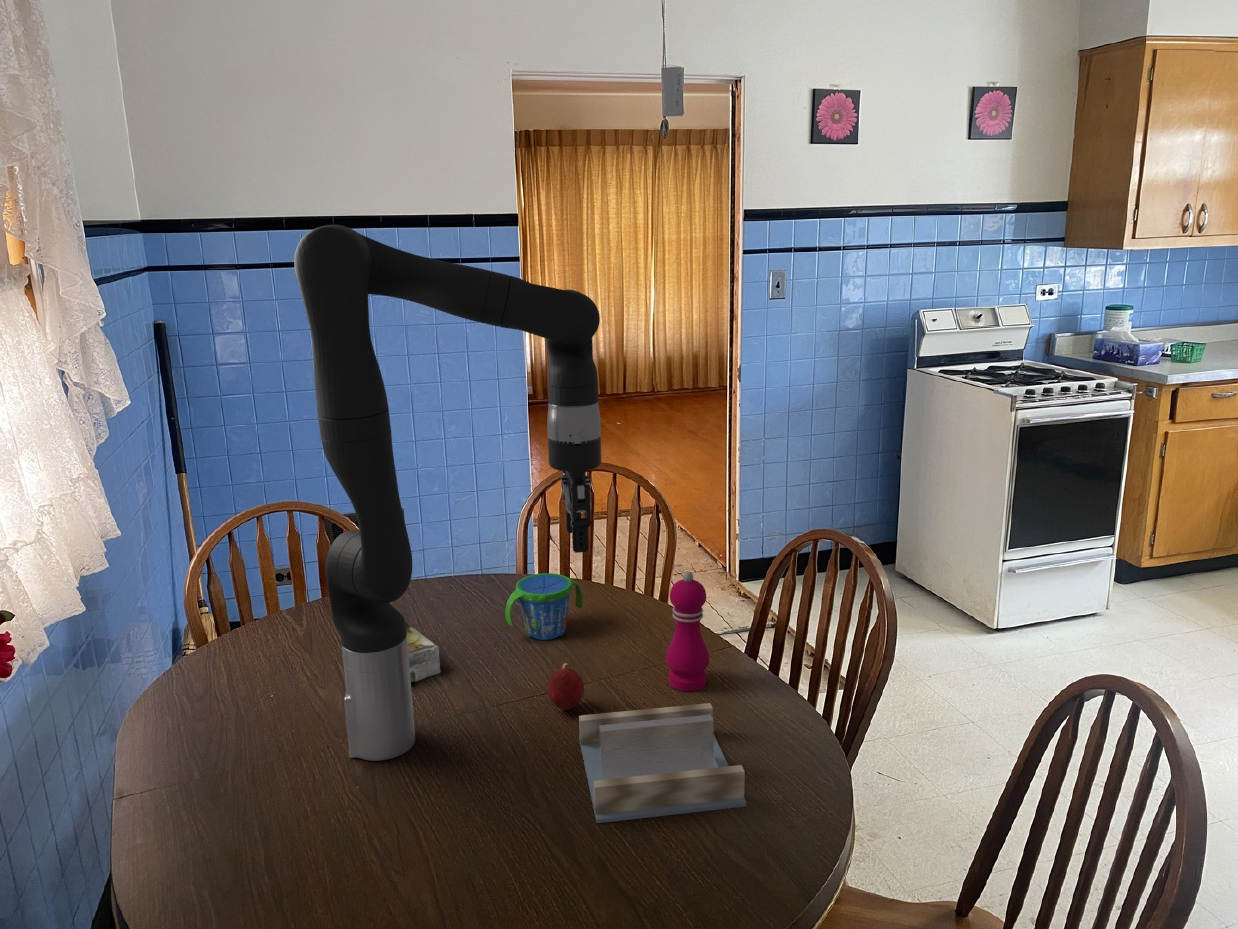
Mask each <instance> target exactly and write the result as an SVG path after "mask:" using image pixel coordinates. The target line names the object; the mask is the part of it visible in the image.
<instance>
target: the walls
mask: <svg viewBox="0 0 1238 929" xmlns="http://www.w3.org/2000/svg"><path fill="white" fill-rule="evenodd" d="M713 712H714V707H713V706H712V703H710V702H707V703H698V704H687V705H677V706H666V707H665V706H664V707H657V708H644V709H634V710H624V711H614V712H602V713H593V714H583V715H579V716H578V721H579V723H578V725H579V726H578V727H579V729H578V730H579V736H580V742H579V744H580V743H581V745H587V744H597V743H600V738H599V725H609V724H619V723H629V722H639V721H649V720H660V719H670V718H680V717H690V716H701V715H711V716H712V718H713V719H714V717H713V716H714V713H713ZM745 773H746V771H745V770H744V767H743V765H742V764H738V765H737V764H736V765H729V766H727V767H718V768H709V769H699V770H690V771H681V772H671V773H662V774H653V775H643V776H634V777H625V778H615V779H606V780H597V781H593V785H594V808H593V811H594V810H595V813H594V815H595V814H605V813H614V812H623V811H631V810H640V809H649V808H658V807H667V806H676V805H685V804H694V803H702V802H711V801H720V800H729V799H738V798H744V799H745V778H746V777H745V775H746V774H745Z"/></svg>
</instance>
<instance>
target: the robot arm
mask: <svg viewBox="0 0 1238 929" xmlns="http://www.w3.org/2000/svg"><path fill="white" fill-rule="evenodd" d="M293 257H294V258H293V260H294V261H293V262H294V271H295V275H296V279H297V282H298V286H299V290H300V294H301V297H302V301H303V306H304V310H305V314H306V318H307V323H308V327H309V332H310V338H311V343H312V345H311V346H312V359H313V361H312V362H313V363H312V364H313V381H314V382H313V383H314V392H315V402H316V413H317V421H318V429H319V435H320V441H321V442H320V443H321V445H322V450H323V453H324V455H325V458H326V460H327V462H328V464H329V467H330V468H331V469H332V471H333V474H334V475H335V476H336V479H337V480H338V482H339V483H340V485H341V486H342V488H343V490H344V492H345V493H346V495H347V497H348V498H349V500H350V502H351V504H352V507H353V509H354V512H355V516H356V518H357V519H356V520H357V525H358V529H350V530H346V531H344V532H342V533H341V534H339V535H338V536H337V537H336V538H335V539H334V540H333V541H332V543H331V544H330V547H329V549H328V552H327V556H326V561H325V577H326V586H327V591H328V592H327V593H328V599H329V604H330V611H331V612H330V613H331V618H332V622H333V625H334V627H335V629H336V630H337V632H338V634H339V636H340V643H341V644H340V645H341V652H342V664H343V673H344V682H345V694H344V698H343V703H344V704H343V705H344V714H345V722H346V733H347V734H346V735H347V740H348V741H347V742H348V743H347V744H348V754H349V758H350V759H352V758H353V759H354V758H359V759H362V760H365V761H370V762H371V761H373V762H376V761H377V762H378V761H386V760H390V759H394V758H397V757H400V756H401V755H403V754H405V753H407V752H408V751H409V750H410V749H411V748H412V747H413V746H414V745H415V742H416V732H415V728H416V727H415V719H414V707H413V694H412V682H411V680H410V668H409V656H408V644H407V633H406V623H407V622H406V620H405V617H404V616H403V614H402V613H401V612H400V611H399V610H398V609H396V608H395V606H393V605H392V604H391V603H392V602H395V601H397V600H399V599H400V598H401V597H403V595H405V593H406V591H407V589H408V588H409V586H410V583H411V580H412V576H413V562H414V561H413V554H412V548H411V544H410V543H411V542H410V538H409V534H408V529H407V526H406V521H405V518H404V517H405V516H404V513H403V509H402V503H401V498H400V492H399V486H398V485H399V483H398V478H397V477H398V476H397V472H396V465H395V456H394V450H393V448H394V447H393V437H392V434H393V433H392V427H391V426H392V425H391V419H390V409H389V403H388V397H387V392H386V387H385V382H384V378H383V375H382V372H381V369H380V366H379V365H380V364H379V362H378V359H377V356H376V352H375V350H374V347H373V346H374V345H373V342H372V337H371V330H370V329H371V328H370V314H369V312H370V311H369V309H370V308H369V295H371V296H372V295H373V296H383V297H388V298H389V297H391V298H396V299H401V300H405V301H408V302H412V303H415V304H419V305H423V306H426V307H427V308H431V309H434V310H436V311H440V312H442V313H445V314H448V315H451V316H455V317H458V318H461V319H465V320H468V321H472V322H476V323H482V324H485V325H490V326H493V327H499V328H504V329H510V330H511V329H512V330H518V331H522V332H525V333H527V334H531V335H533V336H537V337H541V338H544V341H545V348H546V349H545V351H546V356H547V357H546V358H547V366H548V370H547V372H548V373H547V391H548V392H547V393H548V394H547V397H548V400H547V401H548V403H547V404H548V406H547V408H548V410H547V417H546V418H547V420H546V421H547V423H546V424H547V447H548V448H547V450H548V465H549V466H550V468H552V469H553V470H556V471H559V472H560V471H561V472H562V476H561V477H560V484H561V496H562V497H561V498H562V500H564V502H563V506H564V508H565V516H566V518H565V520H566V525H565V526H566V531H567V533H569V534H571V537H572V538H571V539H572V541H571V542H572V551H573V552H574V553H575V554H577V553H587V552H588V551H589V528H590V527H591V526H592V520H591V519H592V518H591V509H592V501H591V489H592V483H591V480H590V479H589V475H586V472H587V471H589V470H594V469H596V468H598V467H599V466H600V465H601V464H602V439H601V438H602V437H601V436H602V435H601V434H602V431H601V426H602V425H601V424H602V423H601V413H600V412H601V411H600V408H599V407H600V406H599V381H598V380H599V378H598V370H597V366H596V363H595V360H594V356H593V355H594V353H593V351H594V350H593V348H594V346H593V338H594V336H595V334H596V333H597V331H598V329H599V327H600V321H601V318H600V311H599V309H598V306H597V305H596V303H595V302H594V301H593V299H591V298H590V297H589V296H588V295H586V294H584V293H582V292H580V291H577V290H573V289H561V288H556V287H552V286H551V287H550V286H546V285H540V284H535V283H532V282H529V281H527V280H525V279H522V278H519V277H517V276H513V275H509V274H504V273H501V272H496V271H493V270H488V269H485V268H479V267H475V266H469V265H466V264H465V265H464V264H460V263H455V262H449V261H445V260H440V259H435V258H430V257H426V256H422V255H418V254H414V253H411V252H408V251H404V250H401V249H398V248H396V247H393V246H389V245H387V244H385V243H383V242H380V241H377V240H375V239H373V238H371V237H368V236H366V235H363V234H361V233H359V232H357V231H356V230H354V229H353V228H351V227H348V226H346V225H340V224H325V225H322V226H318V227H316V228H313V229H312V230H310V231H308V232H307V233H305V235H303V236H302V238H301V239H300V241H299V242H298V244H297V246H296V249H295V252H294V256H293ZM582 513H583V515H584V517H583V518H582ZM405 622H406V623H405Z"/></svg>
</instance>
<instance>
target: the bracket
mask: <svg viewBox="0 0 1238 929" xmlns="http://www.w3.org/2000/svg"><path fill="white" fill-rule="evenodd" d="M714 723H715V721H714V717H713V718H712V716H711V715H701V716H690V717H680V718H670V719H660V720H649V721H639V722H629V723H619V724H609V725H599V738H600V770H601V774H602V778H603V780H606V779H615V778H625V777H634V776H643V775H653V774H662V773H671V772H681V771H690V770H699V769H709V768H718V765H717V763H716V761H715V758H714V756H713V738H714V736H715V734H714V730H715V727H714V726H715V724H714Z"/></svg>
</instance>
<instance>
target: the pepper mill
mask: <svg viewBox="0 0 1238 929" xmlns="http://www.w3.org/2000/svg"><path fill="white" fill-rule="evenodd" d="M669 601H670V603H671V605H672V606H673V607H672V618H673V619H675V631H674V635H673V638H672V640H671V642H670V644H669V646H668V648H667V651H666V658H665V663H666V666H667V667H668V668H669V673H668V683H669V686H670V687H671V688H672V689H674V688H675V689H674V690H676V689H677V690H676V691H679V690H680V692H684V691H687V693H688V692H689V691H692V692H697V691H700V690H702V689H704V687H705V686H706V684H707V672H706V671H705V670H706V669H708V667H709V665H710V655H709V650H708V647H707V646H706V642H705V641H704V639H703V636H702V632H701V620H702V619H703V618H704V614H703V612H704V609H703V606H704V605H705V603H706V601H707V591H706V589H705V587H704V585H703V584H702V583H701V582H700V581H698V580H695V579H694V574H693V573H692V572H691V571H685V572H684V573H683V575H682V579H679V580H678V581H676V582H675V583H674V584H673V585H672V586H671V588H670V591H669ZM699 689H700V690H699ZM696 690H697V691H696ZM689 693H690V692H689Z"/></svg>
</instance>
